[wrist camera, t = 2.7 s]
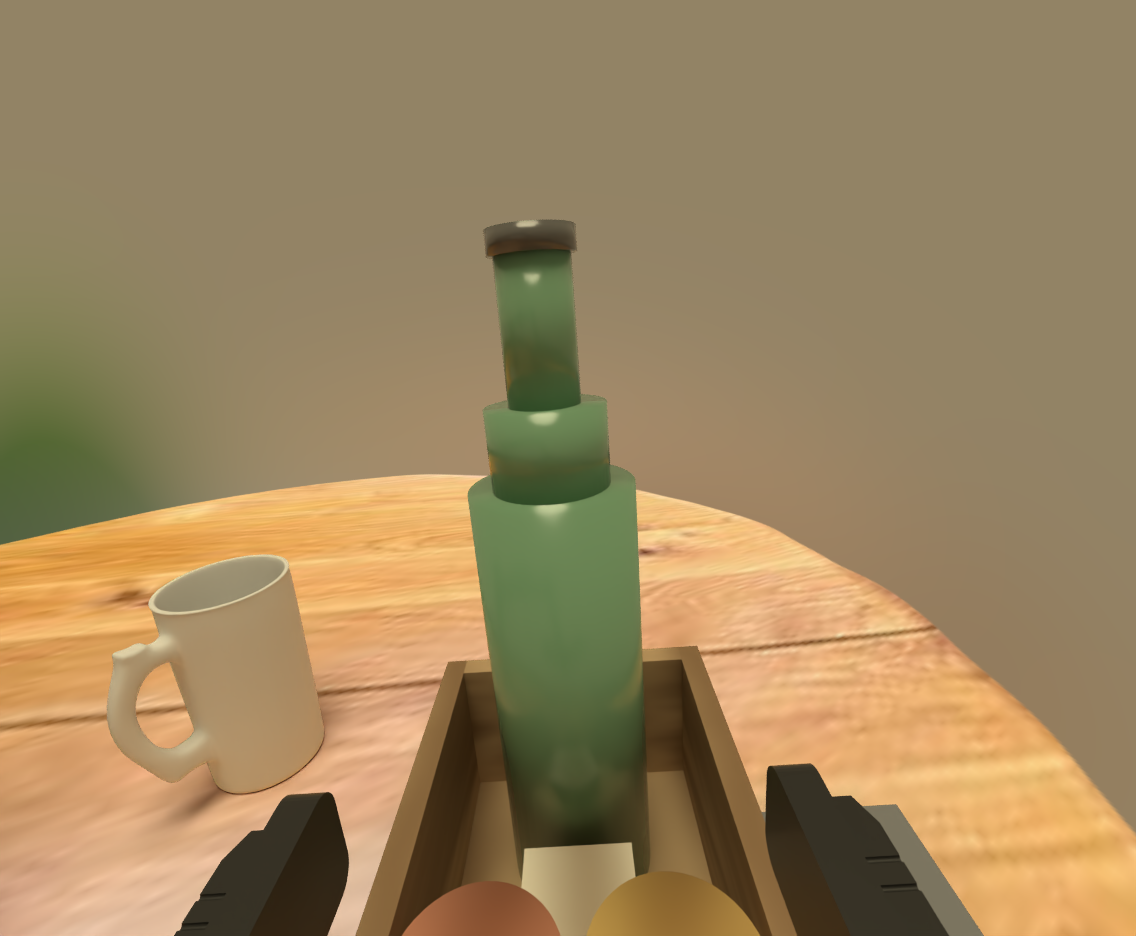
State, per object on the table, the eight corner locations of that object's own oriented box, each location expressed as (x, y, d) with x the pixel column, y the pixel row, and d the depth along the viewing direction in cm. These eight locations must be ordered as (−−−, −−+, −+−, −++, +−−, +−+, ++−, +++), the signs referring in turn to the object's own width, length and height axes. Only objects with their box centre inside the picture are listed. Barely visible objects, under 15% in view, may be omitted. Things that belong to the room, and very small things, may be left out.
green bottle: (489, 862, 25) (392, 237, 17) (574, 771, 29) (527, 244, 22) (596, 957, 21) (532, 200, 13) (675, 835, 25) (661, 219, 18)
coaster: (764, 1114, 17) (764, 1102, 17) (693, 825, 27) (693, 816, 27) (1081, 1099, 17) (1085, 1087, 17) (895, 813, 26) (896, 804, 26)
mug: (284, 702, 38) (243, 548, 34) (352, 729, 35) (314, 562, 32) (121, 823, 29) (44, 633, 26) (192, 871, 26) (116, 665, 23)
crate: (293, 1606, 11) (169, 1405, 8) (467, 782, 30) (445, 645, 28) (930, 1586, 11) (1000, 1375, 8) (697, 768, 30) (696, 629, 27)
